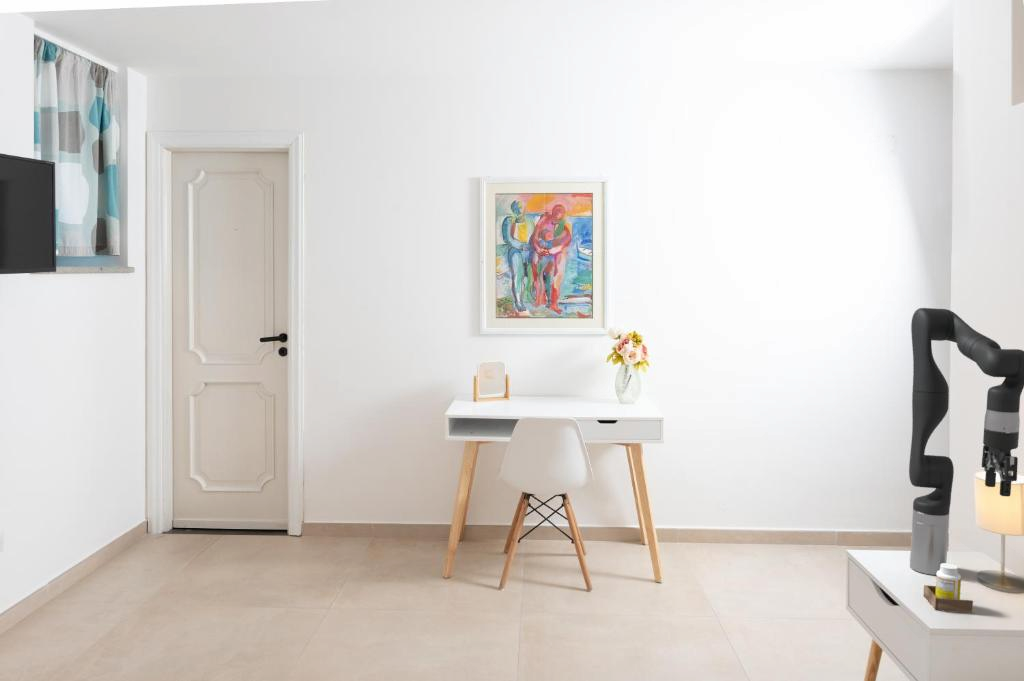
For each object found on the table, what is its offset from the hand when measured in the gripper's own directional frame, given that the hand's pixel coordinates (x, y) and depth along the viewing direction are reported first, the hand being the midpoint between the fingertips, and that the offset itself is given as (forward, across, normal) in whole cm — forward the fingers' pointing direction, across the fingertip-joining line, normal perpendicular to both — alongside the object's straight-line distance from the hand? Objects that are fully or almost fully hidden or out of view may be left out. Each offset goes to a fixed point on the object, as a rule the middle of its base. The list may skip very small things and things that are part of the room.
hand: (997, 491), depth 199 cm
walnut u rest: (+30, +1, -10) cm, 32 cm away
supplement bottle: (+30, +1, -10) cm, 32 cm away
